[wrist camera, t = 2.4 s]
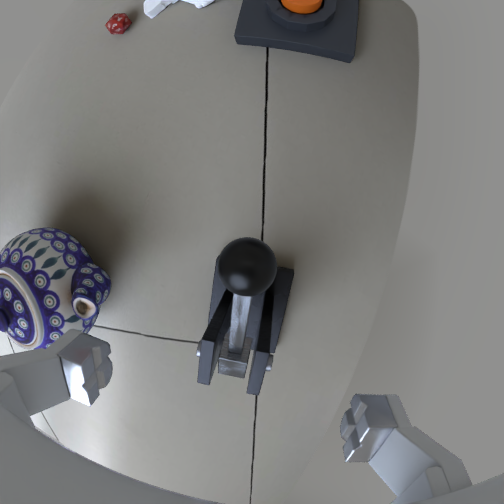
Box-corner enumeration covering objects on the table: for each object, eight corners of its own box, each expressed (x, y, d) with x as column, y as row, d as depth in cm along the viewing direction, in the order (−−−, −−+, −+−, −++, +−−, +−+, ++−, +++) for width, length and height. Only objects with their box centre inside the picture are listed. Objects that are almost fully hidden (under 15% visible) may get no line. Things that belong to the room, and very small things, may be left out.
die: (110, 30, 25) (98, 22, 22) (129, 15, 24) (118, 5, 21) (119, 41, 25) (106, 33, 22) (138, 26, 25) (127, 16, 22)
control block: (355, -2, 21) (362, -19, 18) (349, 63, 24) (358, 49, 20) (252, -19, 22) (249, -37, 18) (237, 44, 25) (230, 28, 21)
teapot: (35, 319, 37) (-23, 361, 23) (12, 231, 33) (-59, 256, 19) (161, 329, 34) (104, 407, 20) (138, 208, 30) (46, 236, 16)
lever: (226, 221, 16) (211, 258, 14) (284, 231, 16) (278, 271, 13) (219, 344, 24) (210, 376, 22) (255, 352, 24) (249, 384, 22)
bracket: (218, 254, 31) (184, 300, 19) (293, 269, 30) (300, 323, 19) (208, 334, 33) (178, 400, 22) (274, 348, 33) (270, 420, 22)
